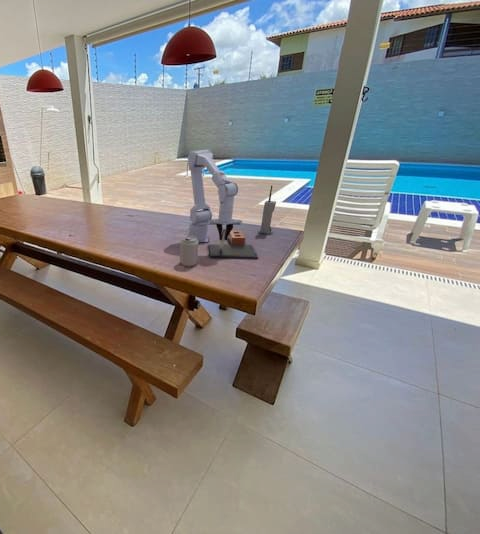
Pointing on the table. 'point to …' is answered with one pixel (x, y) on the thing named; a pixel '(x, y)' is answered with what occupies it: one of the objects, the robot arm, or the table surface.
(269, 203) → the vintage mobile phone
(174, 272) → the table surface
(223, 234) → the stylus
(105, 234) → the table surface
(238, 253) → the tablet
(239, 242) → the pen stand
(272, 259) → the table surface
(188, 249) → the can
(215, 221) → the robot arm
